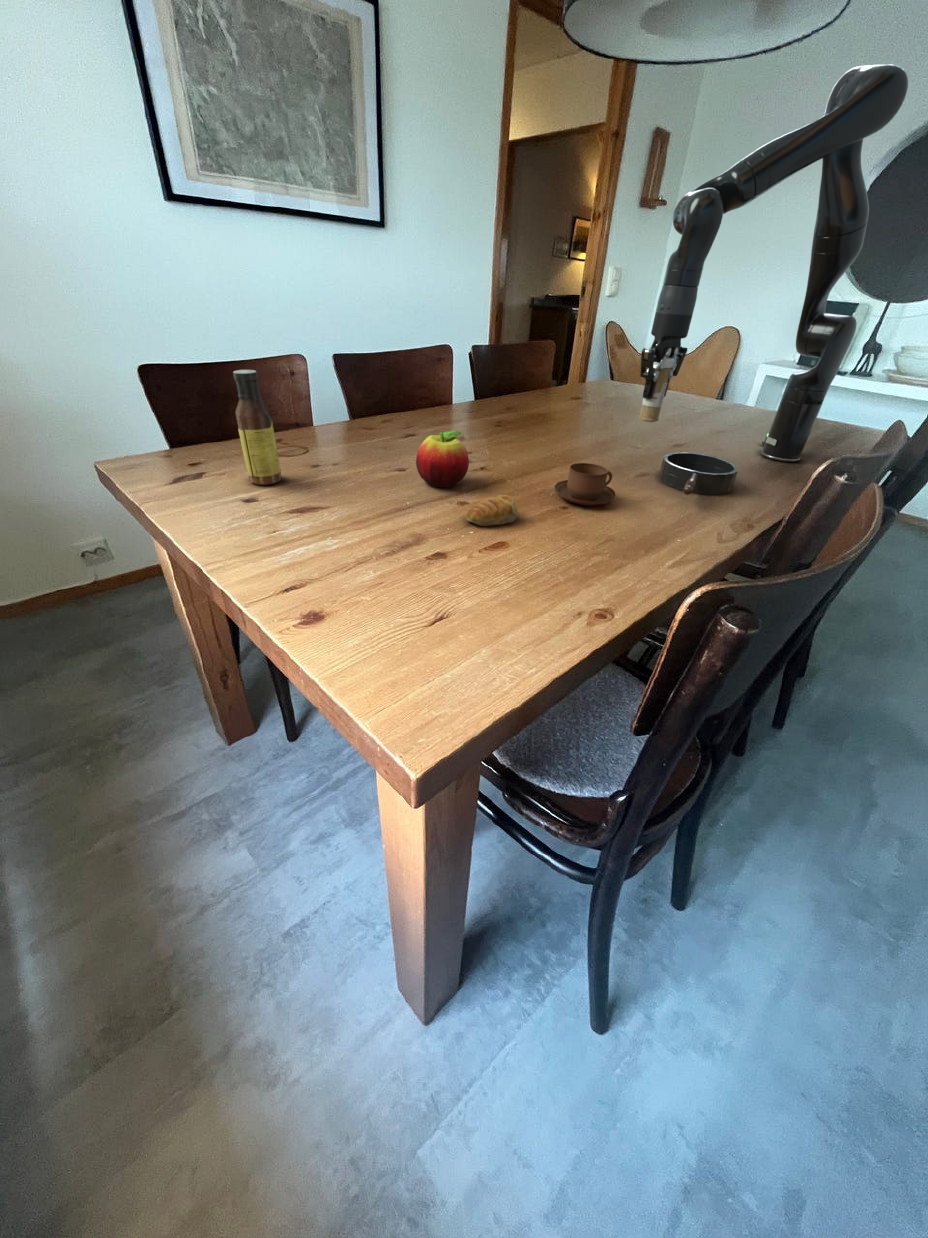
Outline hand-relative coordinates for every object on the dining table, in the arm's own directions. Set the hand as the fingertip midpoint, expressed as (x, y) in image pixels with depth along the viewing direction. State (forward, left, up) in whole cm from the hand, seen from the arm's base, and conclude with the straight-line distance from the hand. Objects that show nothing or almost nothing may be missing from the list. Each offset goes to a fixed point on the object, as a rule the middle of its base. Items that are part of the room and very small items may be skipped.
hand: (654, 397), depth 120 cm
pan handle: (+24, +6, -13) cm, 27 cm away
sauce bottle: (+37, -78, -15) cm, 88 cm away
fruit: (+28, -44, -15) cm, 55 cm away
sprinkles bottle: (0, 0, -5) cm, 5 cm away
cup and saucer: (+29, -15, -15) cm, 36 cm away
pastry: (+44, -32, -15) cm, 57 cm away
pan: (+11, +11, -15) cm, 22 cm away
